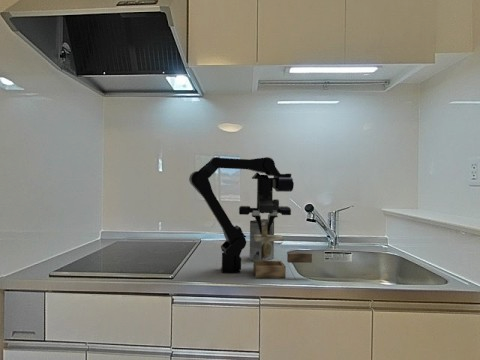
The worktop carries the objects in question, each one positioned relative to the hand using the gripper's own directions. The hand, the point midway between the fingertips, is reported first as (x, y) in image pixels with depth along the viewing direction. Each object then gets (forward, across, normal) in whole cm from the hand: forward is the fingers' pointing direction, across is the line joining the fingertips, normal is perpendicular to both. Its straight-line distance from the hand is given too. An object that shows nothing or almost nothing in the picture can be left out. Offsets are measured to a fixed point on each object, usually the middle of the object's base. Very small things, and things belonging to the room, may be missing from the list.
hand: (264, 233), depth 136 cm
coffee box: (+13, +1, +17) cm, 22 cm away
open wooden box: (+13, +1, -8) cm, 15 cm away
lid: (+2, +2, -1) cm, 3 cm away
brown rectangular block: (+8, +11, -11) cm, 17 cm away
